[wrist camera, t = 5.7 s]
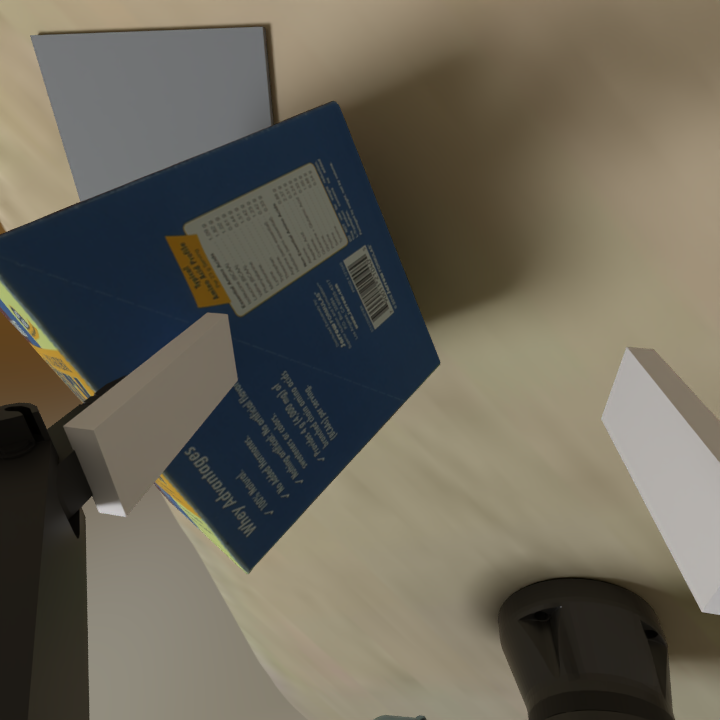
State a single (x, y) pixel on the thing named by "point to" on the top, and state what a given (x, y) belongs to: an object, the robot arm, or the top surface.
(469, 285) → the top surface
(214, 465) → the protein box
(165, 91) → the slate rubber mat
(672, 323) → the top surface
